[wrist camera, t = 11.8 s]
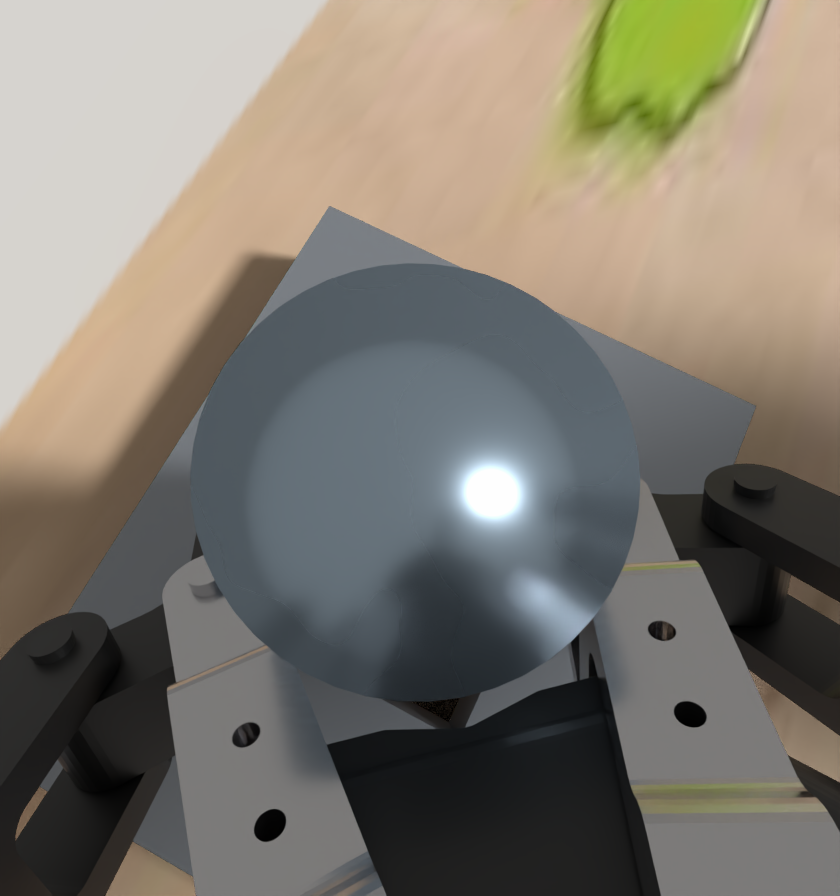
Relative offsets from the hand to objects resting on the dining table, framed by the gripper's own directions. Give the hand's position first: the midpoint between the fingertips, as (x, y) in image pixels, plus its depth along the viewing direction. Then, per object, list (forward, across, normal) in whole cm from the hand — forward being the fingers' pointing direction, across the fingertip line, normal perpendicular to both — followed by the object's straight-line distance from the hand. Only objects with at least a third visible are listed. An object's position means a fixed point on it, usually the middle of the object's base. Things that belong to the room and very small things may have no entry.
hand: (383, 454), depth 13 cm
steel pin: (+2, 0, +5) cm, 5 cm away
